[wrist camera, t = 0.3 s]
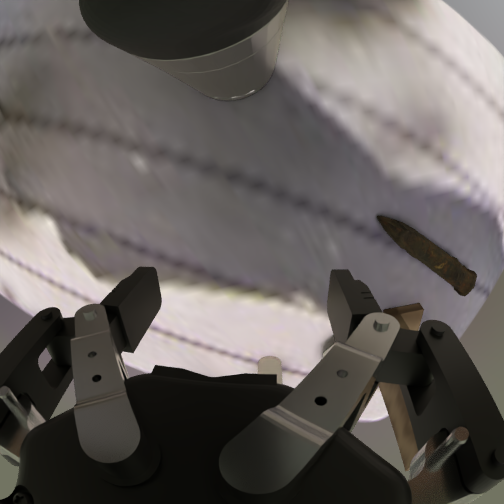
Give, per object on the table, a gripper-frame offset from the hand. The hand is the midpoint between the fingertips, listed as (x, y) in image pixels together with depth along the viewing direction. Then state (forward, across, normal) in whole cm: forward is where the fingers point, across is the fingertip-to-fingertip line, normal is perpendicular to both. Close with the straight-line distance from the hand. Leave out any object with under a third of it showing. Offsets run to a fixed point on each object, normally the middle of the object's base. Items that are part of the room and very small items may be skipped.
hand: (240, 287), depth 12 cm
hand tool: (+20, -22, +6) cm, 30 cm away
